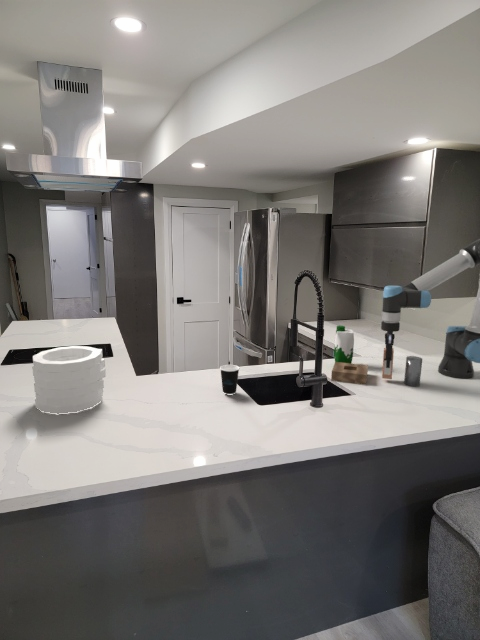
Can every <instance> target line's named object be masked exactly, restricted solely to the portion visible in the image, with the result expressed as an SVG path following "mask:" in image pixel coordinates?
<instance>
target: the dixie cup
mask: <svg viewBox="0 0 480 640" xmlns="http://www.w3.org/2000/svg"><path fill="white" fill-rule="evenodd" d="M240 368H241V367H240V366H238V365H237V364H236V365H234V364H224V365H220V367H219V370H220V377H221V385H222V386H221V387H222V392H224V393H226V394H234V393H235V394H236V393H237V389H238V379H239V371H240ZM224 393H223V394H224Z"/></svg>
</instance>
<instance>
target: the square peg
mask: <svg viewBox="0 0 480 640" xmlns="http://www.w3.org/2000/svg"><path fill="white" fill-rule="evenodd" d="M394 351H395V350H394V347H392V361H391V375H386V374H384V367H385V360H384V359H385V358H386V347H383V357H382V372H381V379H385V380H392V379H393V367H394V366H393V365H394V354H395V353H394Z"/></svg>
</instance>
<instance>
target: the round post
mask: <svg viewBox="0 0 480 640" xmlns="http://www.w3.org/2000/svg"><path fill="white" fill-rule="evenodd" d="M405 359H406V360H405V367H404V369H405V370H404V378H403V379H404V380H403V385H404V386H408V387H412V388H418V387H420V385H421V378H422V377H421V375H422V365H423V358H422V357H420V356H414V355H409V356H406V358H405Z"/></svg>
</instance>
